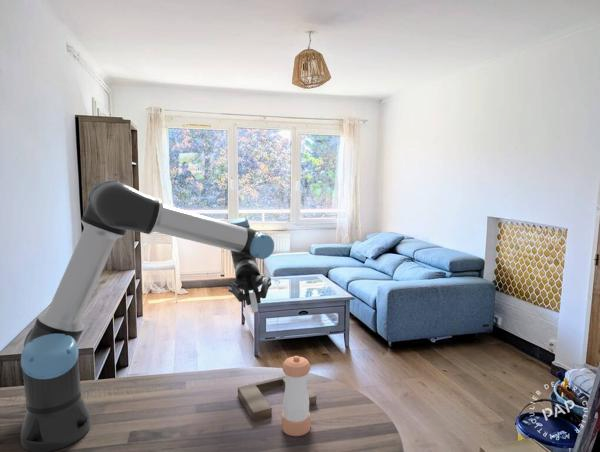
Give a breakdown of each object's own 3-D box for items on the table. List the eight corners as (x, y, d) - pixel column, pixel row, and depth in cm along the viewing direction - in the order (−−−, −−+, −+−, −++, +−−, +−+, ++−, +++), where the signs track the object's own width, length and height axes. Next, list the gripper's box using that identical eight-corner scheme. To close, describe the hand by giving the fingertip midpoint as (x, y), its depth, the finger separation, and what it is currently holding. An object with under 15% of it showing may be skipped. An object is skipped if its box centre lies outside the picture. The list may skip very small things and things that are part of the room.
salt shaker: (286, 416, 112) (286, 348, 109) (313, 421, 110) (314, 352, 107) (277, 433, 105) (277, 361, 102) (306, 438, 103) (306, 365, 100)
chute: (237, 395, 122) (237, 387, 121) (295, 381, 130) (295, 373, 129) (253, 421, 110) (253, 412, 110) (316, 404, 118) (316, 395, 118)
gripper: (269, 283, 133) (281, 316, 111) (228, 289, 131) (231, 324, 109) (267, 260, 131) (278, 289, 109) (225, 267, 129) (227, 297, 107)
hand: (254, 307), depth 109 cm, fingers closed
